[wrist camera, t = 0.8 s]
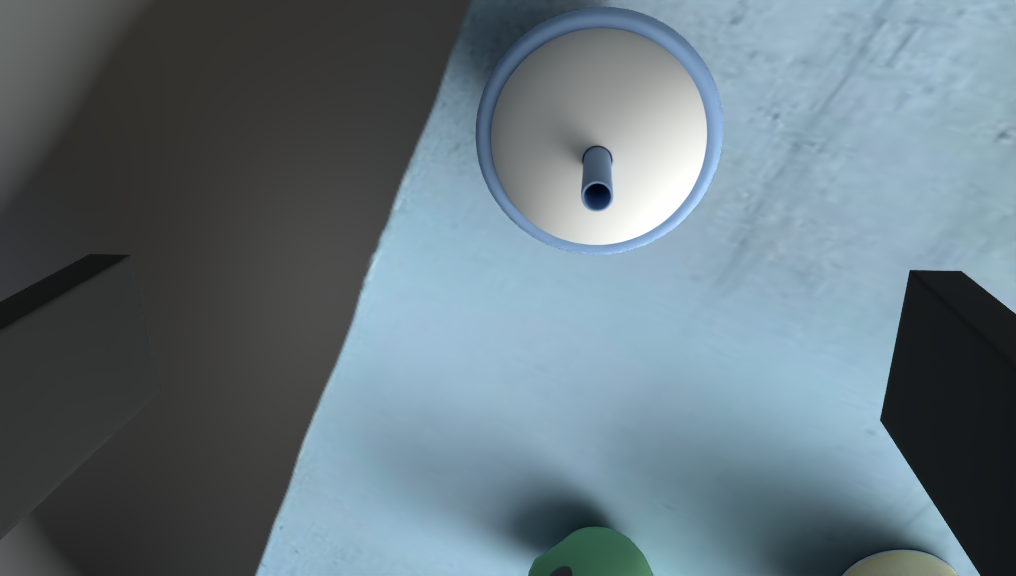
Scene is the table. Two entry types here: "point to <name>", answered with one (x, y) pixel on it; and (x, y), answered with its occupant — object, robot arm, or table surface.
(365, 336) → the table surface
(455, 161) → the table surface
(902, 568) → the coffee cup
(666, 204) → the cup with straw
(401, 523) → the table surface
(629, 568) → the alien toy
